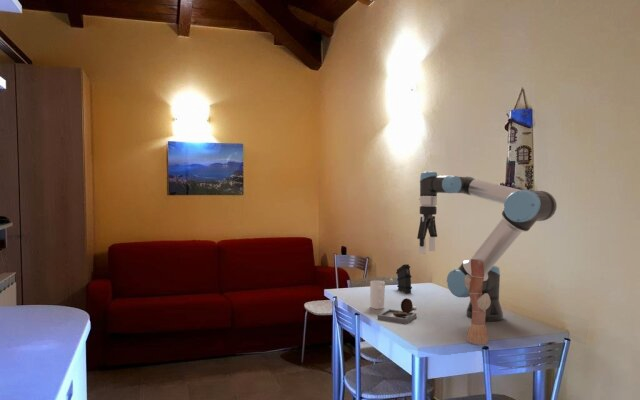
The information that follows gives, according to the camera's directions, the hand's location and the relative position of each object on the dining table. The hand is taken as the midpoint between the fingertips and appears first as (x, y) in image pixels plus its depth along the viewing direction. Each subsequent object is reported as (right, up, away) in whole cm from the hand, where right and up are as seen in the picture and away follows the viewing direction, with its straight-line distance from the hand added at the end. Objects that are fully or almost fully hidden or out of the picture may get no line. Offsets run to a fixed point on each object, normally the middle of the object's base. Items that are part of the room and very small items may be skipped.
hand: (427, 252), depth 220 cm
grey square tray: (-16, -27, -14) cm, 34 cm away
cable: (-9, -27, -3) cm, 28 cm away
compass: (-14, -25, -16) cm, 33 cm away
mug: (-22, -27, +4) cm, 34 cm away
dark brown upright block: (-3, -26, +45) cm, 52 cm away
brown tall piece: (+8, -28, -44) cm, 53 cm away
